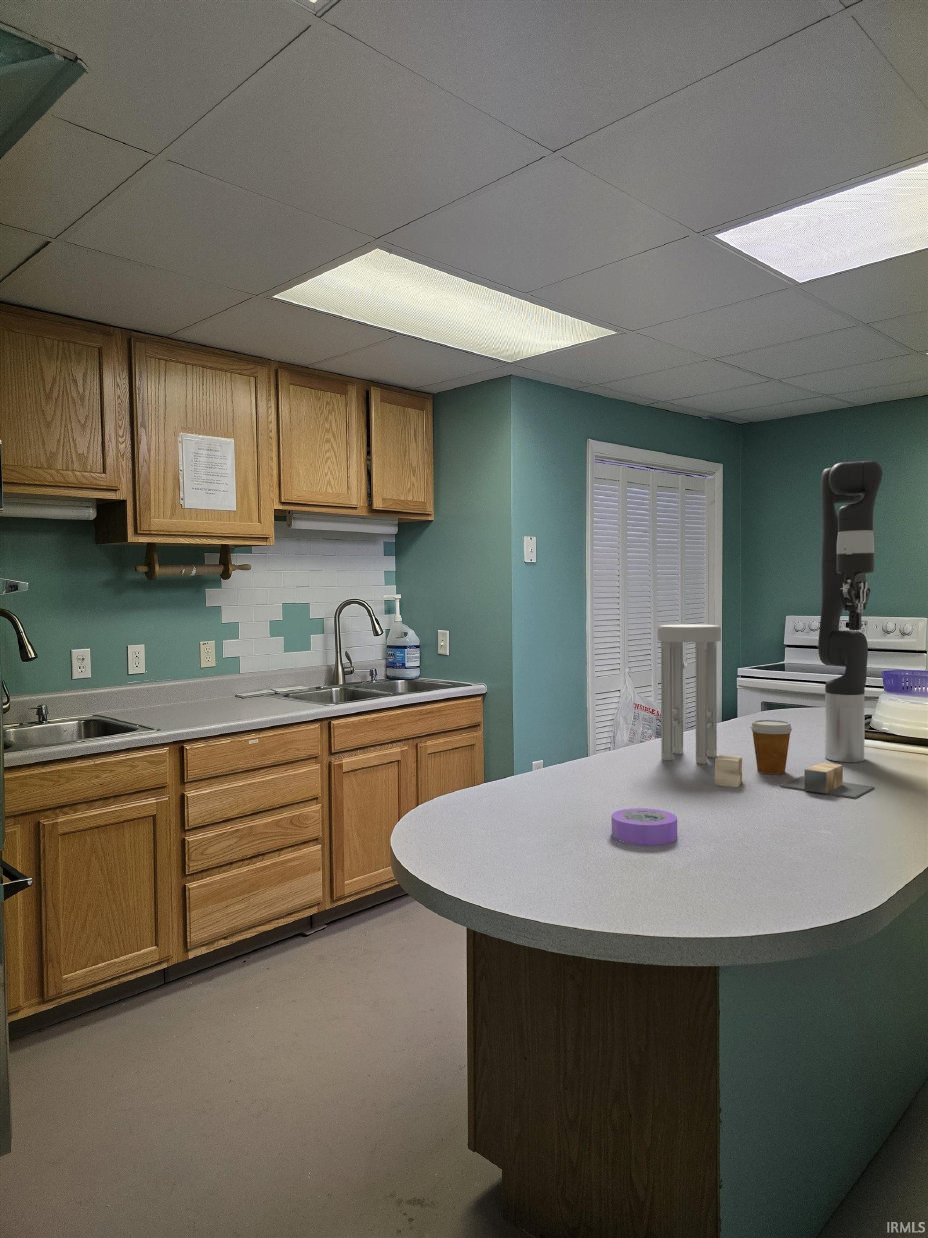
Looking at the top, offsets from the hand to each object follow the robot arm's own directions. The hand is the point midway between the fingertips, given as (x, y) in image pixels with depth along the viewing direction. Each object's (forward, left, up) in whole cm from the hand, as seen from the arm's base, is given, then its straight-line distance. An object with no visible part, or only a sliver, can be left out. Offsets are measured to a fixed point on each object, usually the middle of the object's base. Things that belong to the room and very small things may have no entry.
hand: (855, 630), depth 182 cm
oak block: (+12, -4, -32) cm, 35 cm away
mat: (+6, -4, -35) cm, 36 cm away
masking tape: (+63, -15, -36) cm, 74 cm away
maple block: (+16, -22, -35) cm, 44 cm away
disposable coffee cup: (-2, -20, -35) cm, 41 cm away
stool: (-4, -43, -35) cm, 56 cm away
